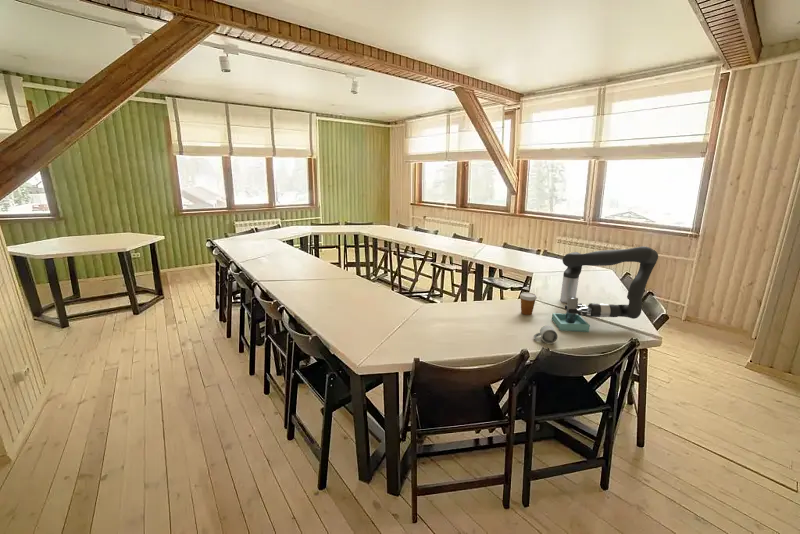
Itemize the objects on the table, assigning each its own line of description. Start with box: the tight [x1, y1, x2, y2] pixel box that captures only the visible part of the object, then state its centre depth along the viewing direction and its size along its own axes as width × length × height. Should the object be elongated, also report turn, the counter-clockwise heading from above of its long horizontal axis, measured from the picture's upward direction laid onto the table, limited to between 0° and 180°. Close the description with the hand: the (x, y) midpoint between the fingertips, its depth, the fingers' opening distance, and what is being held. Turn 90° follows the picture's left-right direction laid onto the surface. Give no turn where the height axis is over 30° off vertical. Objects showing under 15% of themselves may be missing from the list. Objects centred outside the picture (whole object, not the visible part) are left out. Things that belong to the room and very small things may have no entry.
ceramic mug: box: [533, 324, 559, 345], centre depth 183 cm, size 11×8×8 cm
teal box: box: [551, 312, 591, 333], centre depth 200 cm, size 15×15×4 cm
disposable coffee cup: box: [519, 291, 537, 316], centre depth 216 cm, size 10×10×12 cm
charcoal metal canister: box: [565, 296, 579, 324], centre depth 198 cm, size 5×5×14 cm
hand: (566, 309), depth 199 cm, fingers closed on charcoal metal canister, 5 cm apart
